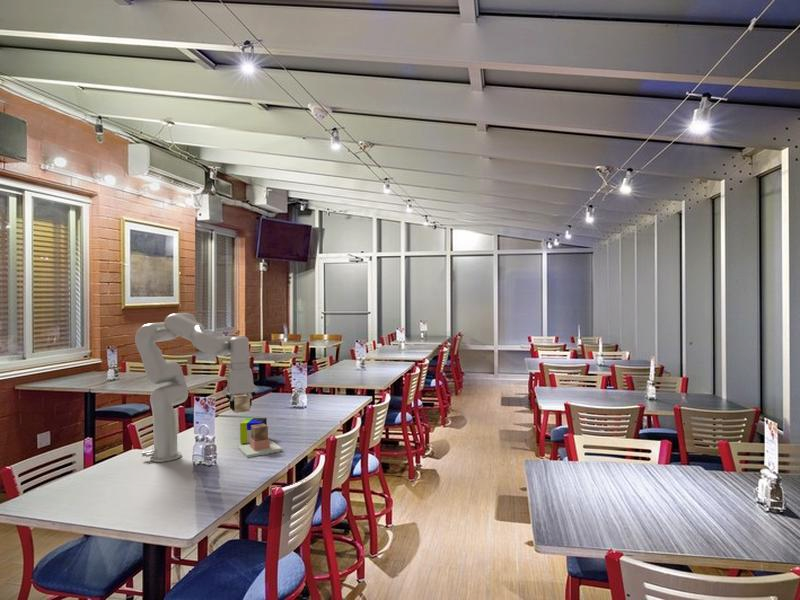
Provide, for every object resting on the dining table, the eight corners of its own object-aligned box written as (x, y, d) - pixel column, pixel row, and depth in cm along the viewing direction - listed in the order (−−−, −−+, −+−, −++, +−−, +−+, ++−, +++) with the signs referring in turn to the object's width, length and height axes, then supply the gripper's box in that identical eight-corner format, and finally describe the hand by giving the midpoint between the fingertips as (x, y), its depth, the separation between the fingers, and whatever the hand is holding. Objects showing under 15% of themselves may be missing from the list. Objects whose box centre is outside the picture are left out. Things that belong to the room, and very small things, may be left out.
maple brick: (235, 412, 211) (235, 398, 211) (231, 410, 216) (231, 396, 216) (249, 411, 214) (249, 396, 214) (246, 408, 219) (245, 394, 219)
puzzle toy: (261, 443, 244) (260, 422, 244) (240, 444, 245) (240, 423, 244) (267, 437, 254) (266, 417, 254) (247, 438, 255) (246, 418, 254)
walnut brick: (254, 441, 230) (254, 428, 230) (251, 438, 235) (250, 425, 235) (268, 439, 233) (267, 426, 233) (264, 436, 238) (263, 423, 238)
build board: (247, 457, 223) (246, 445, 223) (237, 448, 237) (237, 437, 236) (282, 451, 231) (282, 439, 231) (271, 442, 245) (271, 432, 245)
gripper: (220, 369, 207) (221, 413, 207) (262, 365, 216) (263, 407, 216) (216, 367, 213) (217, 409, 214) (257, 363, 222) (258, 404, 223)
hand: (240, 408), depth 215 cm, fingers closed on maple brick, 6 cm apart
